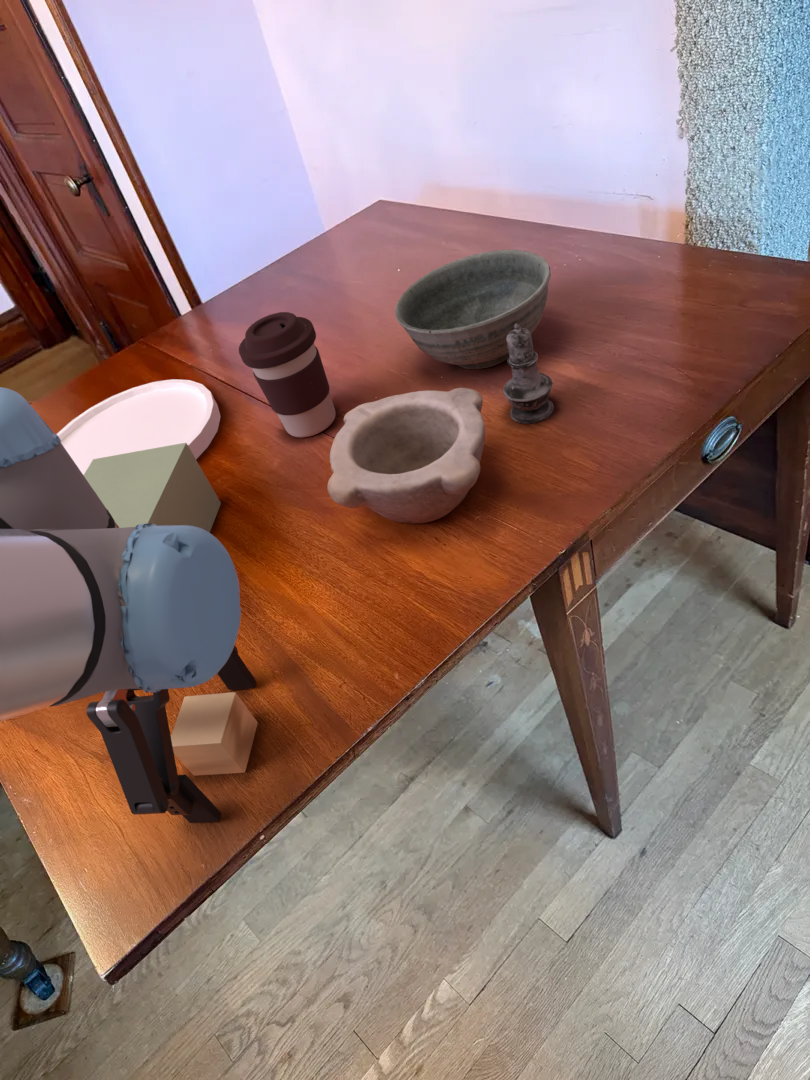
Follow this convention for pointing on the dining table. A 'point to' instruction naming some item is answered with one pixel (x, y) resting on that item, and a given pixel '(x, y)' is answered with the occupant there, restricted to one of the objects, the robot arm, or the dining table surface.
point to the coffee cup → (290, 372)
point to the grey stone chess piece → (526, 380)
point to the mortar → (409, 454)
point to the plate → (143, 422)
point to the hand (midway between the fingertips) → (225, 747)
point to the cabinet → (155, 488)
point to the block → (214, 734)
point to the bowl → (475, 306)
